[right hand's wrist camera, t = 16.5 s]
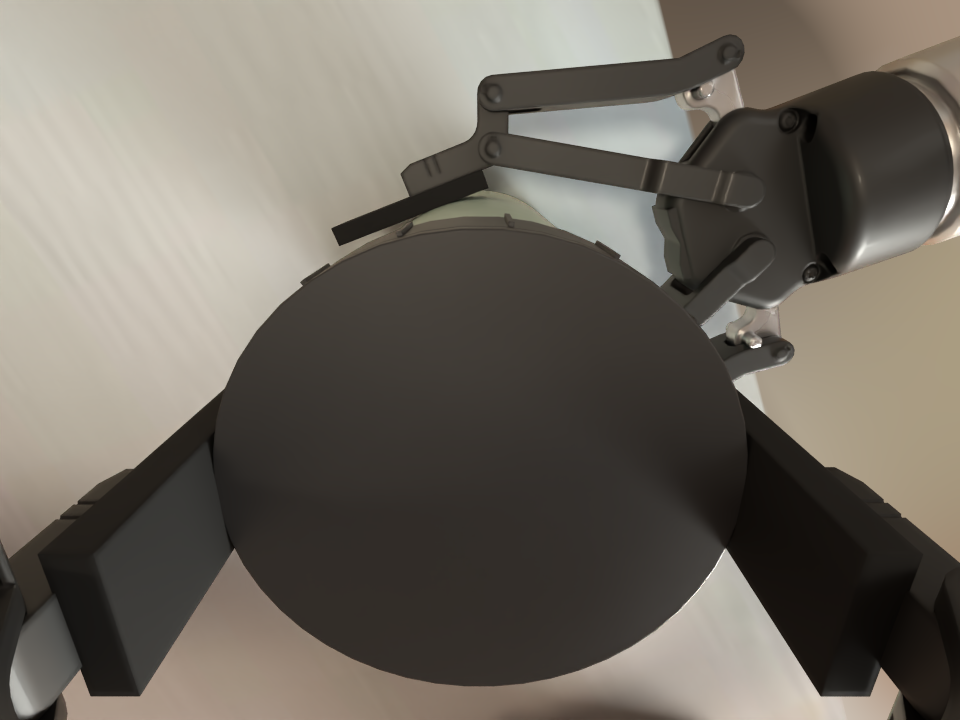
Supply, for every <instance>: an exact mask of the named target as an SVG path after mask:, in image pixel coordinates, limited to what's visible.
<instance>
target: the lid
mask: <svg viewBox="0 0 960 720" xmlns="http://www.w3.org/2000/svg"><path fill="white" fill-rule="evenodd" d="M620 256H621V255H619V254H618V253H616V252H615V251H613V250H612V249H610V248H609V247H607V246H606V245H604V244H602V243H601V242H599V241H596V243H595V244H594V243H592V242H590V241H587V240H585V239H583V238H580V237H578V236H576V235H574V234H571V233H569V232H567V231H565V230H561V229H557V228H554V227H550V226H547V225H543V224H540V223H536V222H533V221H526V220H519V219H512V217H511V215H510V214H507V213H505V214H504V217H478V216H464V217H456V218H449V219H441V220H433V221H428V222H425V223H421V224H417V225H414V226H413V222H412V221H411V222H408V223H406V224H405V225H404V226H403V227H402V228H400V229H399V230H396V231H394V232H392V233H389V234H387V235H385V236H382V237H380V238H378V239H375V240H373V241H371V242H368V243H367V244H365V245H363V246H362V247H360V248H358V249H357V250H355V251H353V252H352V253H350V254H348V255H347V256H345V257H343V258H342V259H340V260H339V261H337V262H336V263H334V264H333V265H331V266H330V265H329V264H326V265H325V266H323V267H322V268H320V269H319V270H317V271H316V272H314V273H313V274H311V275H310V276H308V277H307V278H305V279H304V280H302V281H301V282H300V283H301V284H302V285H303V286H302V287H301V288H300V289H299V290H297V291H296V292H295V293H294V294H292V295H291V296H290V297H289V298H288V299H286V300H285V301H284V302H283V303H282V304H280V305H279V307H278V308H277V309H276V310H275V311H274V312H273V313H272V314H271V316H270V317H269V318H268V319H267V320H266V321H265V322H264V323H263V324H262V326H261V327H260V328H259V329H258V330H257V331H256V333H255V334H254V336H253V337H252V339H251V340H250V342H249V343H248V345H247V347H246V348H245V350H244V351H243V353H242V354H241V356H240V357H239V359H238V360H237V363H236V365H235V367H234V369H233V372H232V374H231V376H230V378H229V381H228V383H227V385H226V387H225V390H224V393H223V397H222V400H221V404H220V408H219V411H218V415H217V419H216V425H215V435H214V444H213V469H214V476H215V482H216V487H217V491H218V496H219V501H220V506H221V510H222V515H223V519H224V523H225V526H226V529H227V532H228V535H229V537H230V540H231V542H232V544H233V546H234V547H235V549H236V551H237V553H238V555H239V557H240V559H241V561H242V562H243V564H244V566H245V567H246V569H247V570H248V572H249V573H250V574H251V576H252V577H253V579H254V580H255V581H256V583H257V584H258V586H259V587H260V588H261V589H262V591H263V592H264V593H265V594H266V595H267V596H268V597H269V598H270V599H271V600H272V601H273V602H274V604H275V605H276V606H277V607H278V608H279V609H280V610H281V611H282V612H283V613H285V614H286V615H287V616H288V617H289V618H290V619H292V620H293V621H294V622H295V623H296V624H297V625H299V626H300V627H301V628H302V629H304V630H305V631H307V632H308V633H309V634H311V635H312V636H314V637H315V638H317V639H318V640H320V641H321V642H323V643H324V644H326V645H327V646H329V647H331V648H333V649H335V650H337V651H339V652H341V653H342V654H344V655H346V656H348V657H350V658H352V659H354V660H357V661H359V662H362V663H364V664H367V665H369V666H372V667H374V668H376V669H379V670H382V671H386V672H389V673H392V674H396V675H399V676H403V677H406V678H411V679H416V680H421V681H426V682H431V683H437V684H447V685H458V686H502V685H514V684H524V683H529V682H534V681H540V680H545V679H551V678H554V677H558V676H561V675H565V674H568V673H572V672H575V671H579V670H582V669H584V668H587V667H589V666H592V665H594V664H597V663H599V662H602V661H604V660H607V659H609V658H610V657H612V656H614V655H616V654H618V653H620V652H622V651H624V650H626V649H628V648H630V647H632V646H633V645H635V644H636V643H638V642H639V641H641V640H642V639H644V638H645V637H647V636H648V635H650V634H651V633H653V632H654V631H656V630H657V629H658V628H660V627H661V626H662V625H663V624H664V623H665V622H667V621H668V620H669V619H670V618H671V617H673V616H674V615H675V614H676V613H677V612H679V611H680V609H681V608H682V607H683V606H684V605H685V604H686V603H687V602H688V601H689V600H690V599H691V598H692V597H693V596H694V595H695V594H696V592H697V591H698V590H699V589H700V588H701V586H702V585H703V584H704V582H705V581H706V579H707V578H708V577H709V575H710V574H711V573H712V571H713V570H714V568H715V567H716V565H717V563H718V562H719V560H720V558H721V556H722V554H723V552H724V551H725V549H726V547H727V545H728V543H729V541H730V539H731V536H732V533H733V531H734V528H735V525H736V522H737V518H738V514H739V509H740V504H741V499H742V495H743V490H744V485H745V480H746V474H747V464H748V449H747V438H746V428H745V421H744V417H743V413H742V409H741V405H740V401H739V398H738V394H737V391H736V389H735V386H734V384H733V382H732V379H731V377H730V375H729V372H728V370H727V368H726V365H725V363H724V361H723V360H722V358H721V357H720V355H719V353H718V352H717V350H716V349H715V347H714V346H713V344H712V342H711V341H710V339H709V338H708V336H707V335H706V333H705V332H704V331H703V330H702V328H701V327H700V326H699V325H698V324H697V322H698V321H697V319H696V318H695V317H694V316H692V315H691V314H689V313H688V312H687V311H686V310H685V309H684V308H683V307H682V306H681V305H680V304H679V303H678V302H676V301H675V300H674V299H673V298H672V297H670V296H669V295H668V294H667V293H666V292H665V291H663V290H662V289H661V288H660V287H659V286H657V285H656V284H655V283H654V282H653V281H651V280H650V279H648V278H647V277H645V276H644V275H642V274H641V273H639V272H638V271H636V270H635V269H633V268H632V267H631V266H629V265H628V264H626V263H625V262H623V261H622V260H620V259H619V258H620Z"/></svg>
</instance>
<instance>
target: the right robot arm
mask: <svg viewBox="0 0 960 720" xmlns="http://www.w3.org/2000/svg"><path fill="white" fill-rule="evenodd" d="M735 389H736V388H735ZM224 390H225V389H224ZM224 390H223V391H222V392H221V393H219V394H218V395H217V396H216V397H215V398H214V399H213V400H211V401H210V402H209V403H208V404H207V405H206V406H205V407H204V408H202V409H201V410H200V411H199V412H198V413H197V414H196V415H194V416H193V417H192V418H191V419H190V420H189V421H188V422H187V423H185V424H184V425H183V426H182V427H181V428H180V429H179V430H177V431H176V432H175V433H174V434H173V435H172V436H171V437H170V438H168V439H167V440H166V441H165V442H164V443H163V444H162V445H160V446H159V447H158V448H157V449H156V450H155V451H154V452H153V453H151V454H150V455H149V456H148V457H147V458H146V459H145V460H143V461H142V462H141V463H140V464H139V465H138V466H137V467H136V468H134V469H125V470H124V471H122V472H120V473H118V474H116V475H114V476H112V477H110V478H109V479H107V480H105V481H103V482H101V483H99V484H98V485H96V486H95V487H94V488H93V489H92V490H91V491H89V492H88V493H87V494H86V495H85V496H83V497H82V498H81V499H80V500H79V501H78V504H77V505H73V506H71V507H70V508H69V509H68V510H67V511H66V512H64V513H63V514H62V515H61V516H60V519H59V520H55V521H54V522H52V523H51V524H50V525H49V526H48V527H46V528H45V529H44V530H43V531H42V532H40V533H39V534H38V535H37V536H36V537H35V538H33V539H32V540H31V541H30V542H29V543H27V544H26V545H25V546H24V547H23V548H21V549H20V550H19V551H18V552H17V553H15V554H14V555H13V556H12V557H11V558H10V559H8V558H7V555H6V553H5V550H4V548H3V545H2V543H1V540H0V720H67V708H66V703H65V700H64V697H63V695H62V691H63V690H64V689H65V688H66V686H67V685H68V684H69V682H70V681H71V680H72V679H73V677H74V676H75V675H76V674H77V672H78V671H79V670H80V669H81V672H82V675H83V677H84V680H85V683H86V685H87V688H88V691H89V693H90V696H140V695H141V694H142V692H143V691H144V689H145V687H146V686H147V684H148V683H149V681H150V680H151V678H152V676H153V675H154V673H155V672H156V670H157V669H158V667H159V665H160V664H161V662H162V661H163V659H164V658H165V656H166V655H167V653H168V651H169V650H170V648H171V647H172V645H173V644H174V642H175V640H176V639H177V637H178V636H179V634H180V633H181V631H182V629H183V628H184V626H185V625H186V623H187V622H188V620H189V618H190V617H191V615H192V614H193V612H194V611H195V609H196V608H197V606H198V604H199V603H200V601H201V600H202V598H203V597H204V595H205V593H206V592H207V590H208V589H209V587H210V586H211V584H212V582H213V581H214V579H215V578H216V576H217V575H218V573H219V571H220V570H221V568H222V567H223V565H224V564H225V562H226V561H227V559H228V557H229V556H230V554H231V553H232V551H233V550H234V548H235V547H234V546H233V544H232V542H231V540H230V537H229V535H228V532H227V529H226V526H225V523H224V519H223V515H222V510H221V506H220V501H219V496H218V491H217V487H216V482H215V476H214V469H213V444H214V435H215V425H216V419H217V415H218V411H219V408H220V404H221V400H222V397H223V393H224ZM736 391H737V394H738V398H739V401H740V405H741V409H742V413H743V417H744V421H745V428H746V438H747V449H748V464H747V474H746V480H745V485H744V490H743V495H742V499H741V504H740V509H739V514H738V518H737V522H736V525H735V528H734V531H733V533H732V536H731V539H730V541H729V543H728V545H727V547H726V549H727V550H728V552H729V553H730V555H731V557H732V558H733V560H734V561H735V563H736V564H737V566H738V568H739V569H740V571H741V572H742V574H743V575H744V577H745V578H746V580H747V582H748V583H749V585H750V586H751V588H752V589H753V591H754V593H755V594H756V596H757V597H758V599H759V600H760V602H761V604H762V605H763V607H764V608H765V610H766V611H767V613H768V615H769V616H770V618H771V619H772V621H773V622H774V624H775V625H776V627H777V629H778V630H779V632H780V633H781V635H782V636H783V638H784V640H785V641H786V643H787V644H788V646H789V647H790V649H791V651H792V652H793V654H794V655H795V657H796V658H797V660H798V661H799V663H800V665H801V666H802V668H803V669H804V671H805V672H806V674H807V676H808V677H809V679H810V680H811V682H812V683H813V685H814V687H815V688H816V690H817V691H818V693H819V694H820V696H870V695H871V692H872V690H873V687H874V684H875V682H876V679H877V676H878V674H879V671H880V669H881V667H882V669H883V670H884V671H885V673H886V674H887V675H888V676H889V678H890V679H891V680H892V681H893V683H894V684H895V685H896V686H897V688H898V689H899V692H898V695H897V697H896V700H895V702H894V705H893V707H892V710H891V712H890V714H889V717H888V720H960V563H959V562H958V561H957V560H956V559H954V558H953V557H952V556H951V555H950V554H948V553H947V552H946V551H945V550H944V549H942V548H941V547H940V546H939V545H938V544H936V543H935V542H934V541H933V540H932V539H930V538H929V537H928V536H927V535H926V534H924V533H923V532H922V531H921V530H920V529H918V528H917V527H916V526H915V525H914V524H912V523H911V522H910V521H909V520H908V519H906V518H902V517H901V514H900V513H899V512H898V511H897V510H896V509H894V508H893V507H892V506H891V505H890V504H888V503H884V501H883V499H882V498H881V497H880V496H879V495H878V494H876V493H875V492H874V491H873V490H872V489H870V488H869V487H868V486H867V485H866V484H864V483H863V482H862V481H860V480H858V479H856V478H854V477H852V476H850V475H848V474H846V473H845V472H843V471H841V470H839V469H837V468H835V467H824V466H823V465H822V464H821V463H819V462H818V461H817V460H816V459H815V458H814V457H813V456H811V455H810V454H809V453H808V452H807V451H806V450H805V449H804V448H802V447H801V446H800V445H799V444H798V443H797V442H796V441H794V440H793V439H792V438H791V437H790V436H789V435H788V434H787V433H785V432H784V431H783V430H782V429H781V428H780V427H779V426H777V425H776V424H775V423H774V422H773V421H772V420H771V419H770V418H768V417H767V416H766V415H765V414H764V413H763V412H762V411H760V410H759V409H758V408H757V407H756V406H755V405H754V404H753V403H751V402H750V401H749V400H748V399H747V398H746V397H745V396H743V395H742V394H741V393H740V392H739V391H738V390H737V389H736Z"/></svg>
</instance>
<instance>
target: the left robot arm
mask: <svg viewBox="0 0 960 720" xmlns="http://www.w3.org/2000/svg"><path fill="white" fill-rule="evenodd" d="M743 56H744V45H743V42H742V40H741V39H740V38H739V37H737V36H736V35H726V36H723V37H721V38H719V39H717V40H715V41H713V42H711V43H709V44H707V45H705V46H703V47H701V48H698V49H696V50H694V51H692V52H690V53H688V54H686V55H684V56H682V57H680V58H674V59H663V60H652V61H641V62H630V63H619V64H608V65H597V66H586V67H575V68H563V69H552V70H541V71H530V72H519V73H508V74H497V75H490V76H487V77H485V78H484V79H483V80H482V81H481V82H480V84H479V86H478V92H477V128H476V131H475V133H474V134H473V136H472V137H471V138H470V139H469V140H468V141H466V142H464V143H461V144H459V145H456V146H454V147H452V148H449V149H447V150H444V151H442V152H439V153H437V154H434V155H432V156H429V157H427V158H424V159H422V160H419V161H417V162H414V163H412V164H410V165H409V166H408V167H407V168H406V169H405V170H404V171H403V172H402V173H401V176H402V179H403V181H404V184H405V186H406V189H407V191H408V194H409V196H410V197H408V198H405V199H403V200H400V201H398V202H395V203H393V204H390V205H388V206H385V207H383V208H380V209H378V210H375V211H373V212H370V213H368V214H365V215H362V216H360V217H357V218H355V219H352V220H350V221H347V222H345V223H343V224H340V225H338V226H336V227H334V228H331V229H332V231H333V233H334V235H335V238H336V240H337V242H338V244H339V246H341V245H343V244H346V243H349V242H351V241H354V240H356V239H359V238H361V237H364V236H366V235H369V234H372V233H374V232H377V231H379V230H382V229H384V228H387V227H390V226H392V225H395V224H397V223H400V222H402V221H405V220H407V219H410V218H413V217H415V216H418V215H420V214H423V213H425V212H428V211H431V210H433V209H435V208H438V207H441V206H443V205H446V204H448V203H451V202H454V201H456V200H459V199H461V198H464V197H466V196H469V195H472V194H474V193H477V192H479V191H482V190H484V189H487V188H488V185H487V182H486V180H485V177H484V174H483V171H482V170H483V169H486V168H488V167H491V166H493V165H495V166H501V167H507V168H513V169H519V170H524V171H530V172H536V173H542V174H548V175H553V176H559V177H565V178H571V179H577V180H583V181H588V182H594V183H600V184H606V185H612V186H617V187H623V188H629V189H635V190H640V191H646V192H652V193H658V194H657V198H656V205H654V206H652V209H653V213H654V217H655V221H656V224H657V226H658V227H659V229H660V231H661V233H662V234H663V236H664V239H665V241H664V258H665V262H666V266H667V270H668V272H669V273H671V274H673V275H672V276H671V277H670V278H669V279H668V280H667V281H666V282H665V283H664V284H663V285H662V286H661V287H660V288H661V289H662V290H663V291H665V292H666V293H667V294H668V295H669V296H670V297H672V298H673V299H674V300H675V301H676V302H678V303H679V304H680V305H681V306H682V307H683V308H684V309H685V310H686V311H687V312H688V313H689V314H691V315H692V316H694V317H695V318H696V319H697V321H698V322H697V324H698V325H699V326H702V325H704V324H705V323H706V322H707V321H708V320H709V319H710V318H711V317H712V316H713V315H714V314H715V313H716V312H718V311H719V310H720V309H721V308H722V307H723V306H724V305H725V304H726V303H727V302H728V301H730V302H734V303H737V304H741V305H744V306H746V310H745V313H744V314H743V316H742V317H741V318H740V319H738V320H736V321H734V322H730V323H728V324H727V326H726V333H724V334H720V335H718V336H715V337H713V338H711V339H710V341H711V342H712V344H713V346H714V347H715V349H716V350H717V352H718V353H719V355H720V357H721V358H722V360H723V361H724V363H725V365H726V368H727V370H728V372H729V375H730V377H731V379H732V382H734V381H736V380H737V379H739V378H741V377H742V376H744V375H747V374H751V373H755V372H759V371H763V370H767V369H771V368H775V367H778V366H782V365H784V364H787V363H788V362H789V361H790V360H791V359H792V357H793V356H794V347H793V345H792V344H791V343H790V342H788V341H786V340H785V339H783V338H782V337H781V330H780V319H779V308H778V305H779V304H781V303H782V302H784V301H785V300H786V299H787V298H788V297H789V296H790V295H791V294H793V293H794V292H795V291H797V290H798V289H800V288H801V287H803V286H805V285H808V284H811V283H815V282H819V281H823V280H827V279H831V278H834V277H837V276H841V275H844V274H846V273H849V272H852V271H855V270H858V269H861V268H864V267H867V266H870V265H873V264H876V263H879V262H881V261H885V260H888V259H891V258H893V257H896V256H899V255H902V254H905V253H908V252H911V251H913V250H915V249H917V248H918V247H920V246H921V245H930V244H936V243H939V242H942V241H945V240H948V239H951V238H953V237H956V236H959V235H960V36H959V37H956V38H953V39H951V40H948V41H945V42H943V43H940V44H938V45H935V46H932V47H930V48H927V49H924V50H922V51H919V52H916V53H914V54H911V55H908V56H906V57H903V58H900V59H898V60H895V61H893V62H890V63H888V64H886V65H883V66H882V67H880V68H879V69H878V70H876V71H871V72H864V73H861V74H858V75H855V76H852V77H850V78H847V79H845V80H842V81H839V82H837V83H835V84H832V85H829V86H827V87H824V88H821V89H819V90H816V91H814V92H811V93H808V94H806V95H803V96H801V97H798V98H795V99H793V100H790V101H787V102H785V103H782V104H780V105H777V106H774V107H772V108H769V109H766V110H761V109H754V108H748V107H744V103H743V99H742V95H741V91H740V87H739V83H738V79H737V75H736V71H735V68H736V67H737V66H738V65H739V64H740V62H741V61H742V59H743ZM671 96H675V99H676V102H677V104H678V106H679V107H680V108H682V109H683V110H688V111H689V110H695V109H700V110H703V111H705V112H706V113H707V114H708V115H709V117H710V121H709V122H708V124H707V125H706V126H705V128H704V129H703V130H702V132H701V133H700V134H699V136H698V137H697V138H696V140H695V141H694V142H693V144H692V145H691V146H690V148H689V149H688V150H687V152H686V153H685V154H684V156H683V157H682V158H681V160H680V161H679V162H678V163H677V162H671V161H665V160H657V159H649V158H643V157H638V156H632V155H626V154H621V153H615V152H609V151H604V150H598V149H592V148H587V147H581V146H575V145H570V144H564V143H558V142H553V141H547V140H541V139H536V138H530V137H524V136H518V135H513V134H508V115H512V114H523V113H534V112H546V111H557V110H569V109H580V108H591V107H603V106H614V105H625V104H637V103H647V102H653V101H658V100H662V99H665V98H668V97H671Z"/></svg>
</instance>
